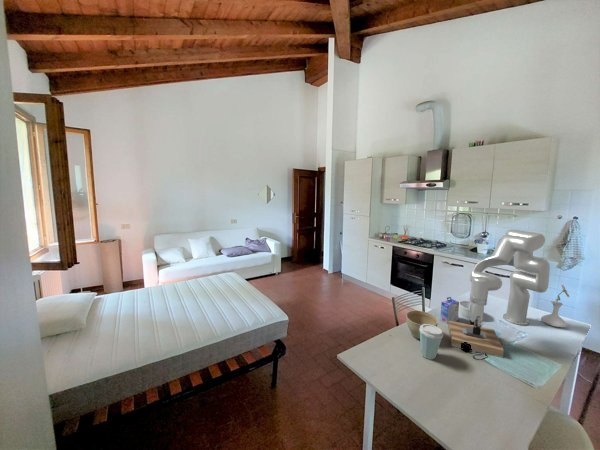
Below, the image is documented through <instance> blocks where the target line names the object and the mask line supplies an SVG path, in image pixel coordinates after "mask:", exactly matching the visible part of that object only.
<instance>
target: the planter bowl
mask: <svg viewBox="0 0 600 450" xmlns="http://www.w3.org/2000/svg"><path fill="white" fill-rule="evenodd" d="M405 317H406V325H407V328H408V330H409V332H410V333H411V336H412V337H413V338H415V339H417V340H420V331H419V329H420V326H421V325H423V324H430V325H434V326H436V327H438V325H439V319H438V318H437V317H436V315H435V316H434V315H433V314H432V313H429V312H427V311H424V310H423V311H422V310H410V311H407V313H406V314H405Z"/></svg>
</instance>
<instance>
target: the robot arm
mask: <svg viewBox="0 0 600 450" xmlns="http://www.w3.org/2000/svg"><path fill="white" fill-rule="evenodd" d="M545 242H546V238H545V236H544V234H542V233H540V232H533V231H525V230H520V229H508V230H507V231H505V234H504V235H502V236H501V237H500V239H499V241H498V243H497V244H496V247H495V248H494V250H493V252H492V253H491V255H490V256H488V257H485V258H483V259H482V260H480V261H478V262H477V263H476V264H475V266H474V267H473V269H472V271H471V273H470V275H469V280H470V281H469V282H470V283H471V284H470V285H471V287H470V294H469V301H470V302H471V303H470V309H469V317H470V318H469V325H473V334H476V335H480V332H481V327H482V324H483V320H484V314H485V313H484V312H485V311H484V310H485V306H487V305H488V297H489V296H488V295H489V292H491V291H493V292H494V291H498V290H499V289H501V288H502V287H503V281H502V279H501V278H500V277H499V276H496V275H492V274H489V273H485V272H483V271H484V270H486V269H488V268H490V267H497V266H506V265H508V264H510V262H511V261H512V259H513V267H514V268H515V269H516V270H514V271H512V272H511V273H510V275H509V283H510V284H509V287H510V288H509V295H508V301H507V309H506V313H504V314H503V315H502V318H503V319H504V320H505V321H507V322H509V323H511V324H514V325H517V326H518V325H519V326H528V325H529V324H530V320H528V319H527V315H528V309H529V303H530V298H531V295H530V291H532V292H537V293H541V294H543V293H545V292H547V291H548V288H549V282H550V269H551V267H550V263H549V261H548V260H547V259H543V258H540V257H536V256H534V252H536V251H537V250H539V249H541V248H542V247H543V246H544V245H545Z"/></svg>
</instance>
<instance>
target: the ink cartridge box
mask: <svg viewBox="0 0 600 450" xmlns="http://www.w3.org/2000/svg"><path fill="white" fill-rule="evenodd" d="M459 302H460V301H458V300H456V299H453V298H452V297H451V296H448V297H446V300H445V301H444V300H443V301H441V302H440V303H441V305H440V306H441V308H440V318H439V319H440V321H442V322H444V323H445V324H449V321H453V322H458V321H459V312H460V311H459Z"/></svg>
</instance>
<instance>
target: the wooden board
mask: <svg viewBox="0 0 600 450" xmlns="http://www.w3.org/2000/svg"><path fill="white" fill-rule="evenodd" d="M447 324H448V325H447V328H448V334H449V340H450V345H451V347H454V348H455V347H456V348H460V349H462V348H461V343H464V342H467V343H468V344H470V345H471V349H472V350H471V351H473V352H475V353H476V352H477V353H481V354H485V353H486V355H489V354H490V356H495V357H499V358H501V359H502V358H504V352H505V351H504V347H503V345H502V344H501V342H500V340H499V337H498V335H497V333H496V331H495V329H493V328H488V327H483V326H481V332H484V333H485V335H486V337H487V338H486V339H484V338H482V339H481V338H476V337H471V336H467V335H465V334H463V331H462V328H464V329H466V328H470V329H473V326H474V325H470V324H469V323H463V322H458V321H454V322H453V321H449V323H447Z"/></svg>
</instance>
